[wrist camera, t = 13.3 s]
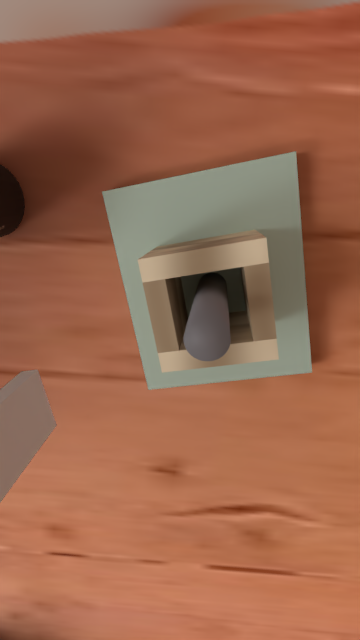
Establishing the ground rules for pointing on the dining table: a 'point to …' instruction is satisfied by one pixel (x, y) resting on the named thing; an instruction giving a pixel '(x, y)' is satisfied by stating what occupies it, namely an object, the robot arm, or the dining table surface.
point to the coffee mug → (10, 202)
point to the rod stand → (224, 285)
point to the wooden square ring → (245, 326)
